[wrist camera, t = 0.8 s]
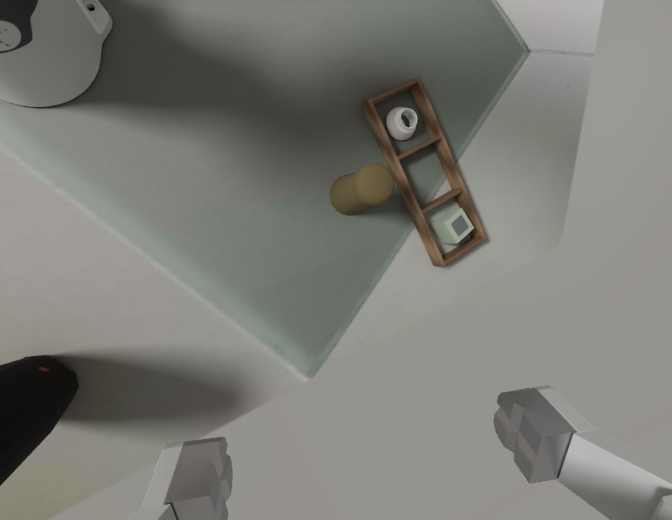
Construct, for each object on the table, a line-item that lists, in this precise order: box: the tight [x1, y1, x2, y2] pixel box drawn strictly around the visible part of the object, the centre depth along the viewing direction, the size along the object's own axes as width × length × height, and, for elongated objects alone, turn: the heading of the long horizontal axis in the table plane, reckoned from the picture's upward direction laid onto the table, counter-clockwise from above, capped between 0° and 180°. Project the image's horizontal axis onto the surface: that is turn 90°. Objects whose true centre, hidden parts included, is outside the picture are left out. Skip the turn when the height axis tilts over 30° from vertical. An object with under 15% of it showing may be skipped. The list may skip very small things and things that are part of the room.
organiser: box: [361, 77, 487, 267], centre depth 53 cm, size 28×10×2 cm, turn 28°
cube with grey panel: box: [430, 208, 474, 244], centre depth 54 cm, size 4×4×4 cm
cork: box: [330, 164, 395, 215], centre depth 45 cm, size 6×6×11 cm
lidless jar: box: [386, 107, 417, 141], centre depth 51 cm, size 5×3×5 cm
